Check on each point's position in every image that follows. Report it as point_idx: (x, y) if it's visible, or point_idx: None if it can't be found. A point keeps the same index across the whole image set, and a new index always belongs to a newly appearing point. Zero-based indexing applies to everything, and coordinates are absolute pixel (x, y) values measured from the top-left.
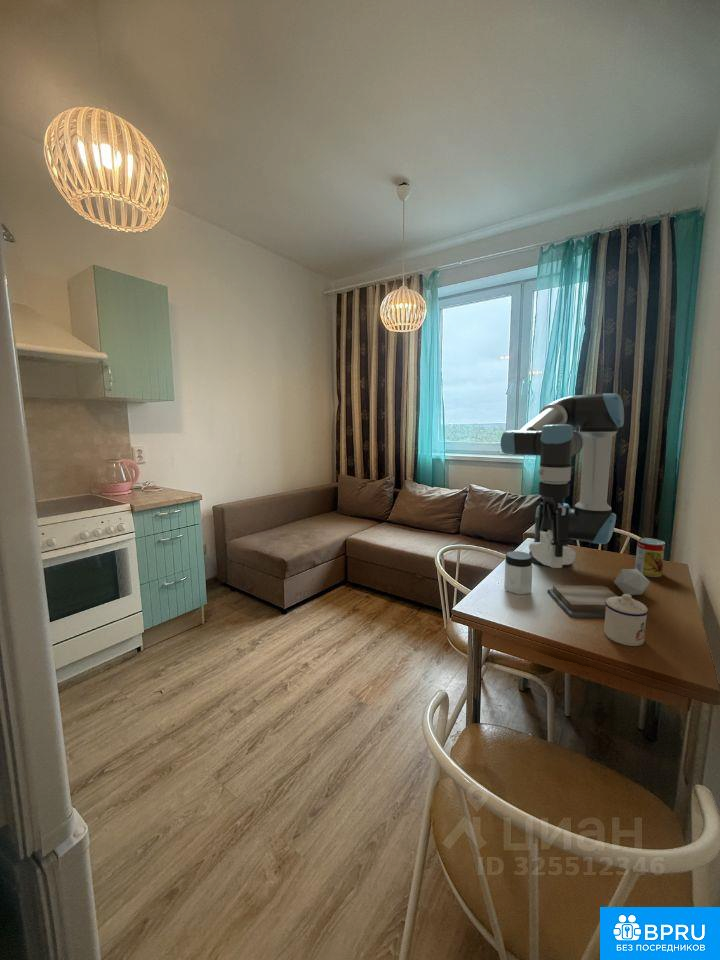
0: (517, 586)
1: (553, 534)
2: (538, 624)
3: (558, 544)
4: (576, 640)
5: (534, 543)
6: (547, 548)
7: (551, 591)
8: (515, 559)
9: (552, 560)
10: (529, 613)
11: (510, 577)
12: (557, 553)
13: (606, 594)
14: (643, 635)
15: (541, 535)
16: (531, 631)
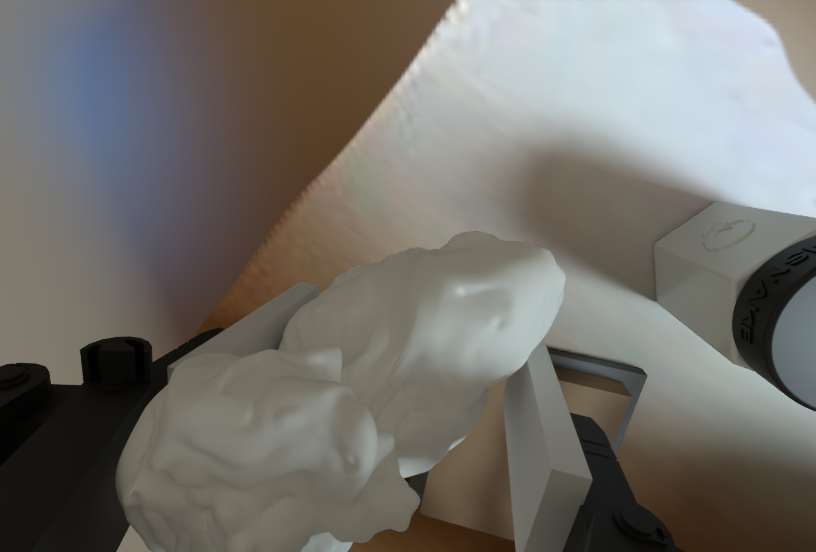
0: (681, 243)
1: (53, 470)
2: (407, 188)
3: (7, 367)
4: (307, 253)
5: (486, 299)
6: (307, 337)
7: (622, 376)
8: (809, 269)
9: (271, 301)
10: (488, 198)
11: (741, 223)
12: (189, 346)
13: (503, 512)
14: None
15: (549, 470)
16: (366, 137)
